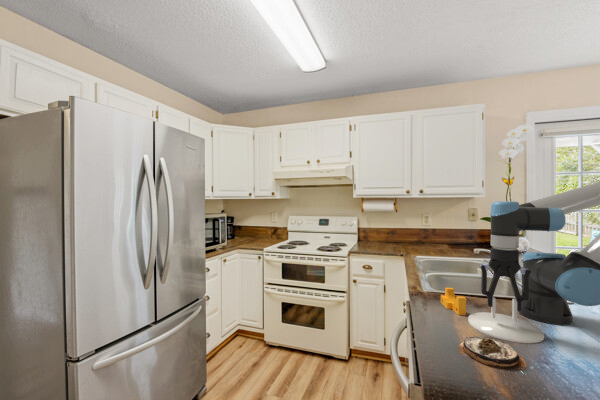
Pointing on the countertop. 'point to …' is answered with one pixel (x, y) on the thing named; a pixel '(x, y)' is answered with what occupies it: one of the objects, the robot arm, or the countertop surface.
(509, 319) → the plate
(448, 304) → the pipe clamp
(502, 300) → the countertop surface
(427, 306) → the countertop surface
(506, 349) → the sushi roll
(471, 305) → the countertop surface
